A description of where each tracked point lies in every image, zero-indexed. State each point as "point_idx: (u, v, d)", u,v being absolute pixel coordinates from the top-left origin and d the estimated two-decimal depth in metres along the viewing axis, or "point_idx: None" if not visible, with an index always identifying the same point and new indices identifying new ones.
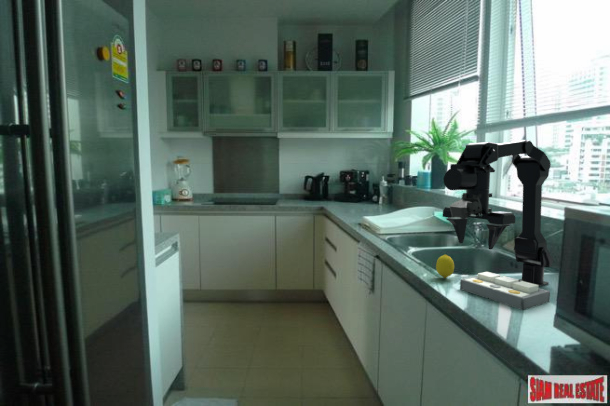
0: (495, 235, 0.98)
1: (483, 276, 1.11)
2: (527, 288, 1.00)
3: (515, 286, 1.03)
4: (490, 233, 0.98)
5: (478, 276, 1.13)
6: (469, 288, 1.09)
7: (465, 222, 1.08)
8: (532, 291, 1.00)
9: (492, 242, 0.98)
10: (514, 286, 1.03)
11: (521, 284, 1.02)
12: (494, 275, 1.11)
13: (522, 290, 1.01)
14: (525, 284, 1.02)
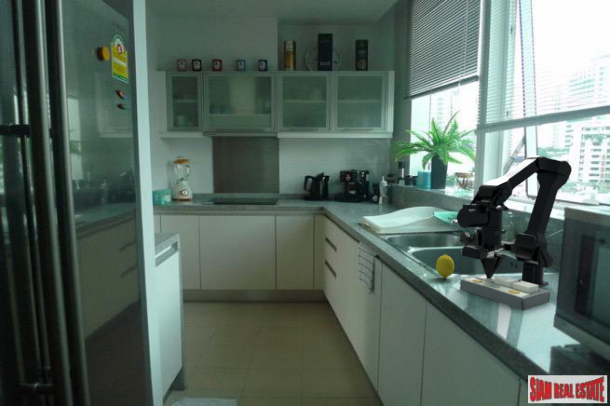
0: (486, 265, 1.11)
1: (483, 280, 1.11)
2: (527, 288, 1.00)
3: (515, 286, 1.03)
4: None
5: None
6: (469, 288, 1.09)
7: (497, 260, 1.10)
8: (532, 291, 1.00)
9: (485, 271, 1.12)
10: (514, 286, 1.03)
11: (521, 284, 1.02)
12: None
13: (522, 290, 1.01)
14: (525, 284, 1.02)
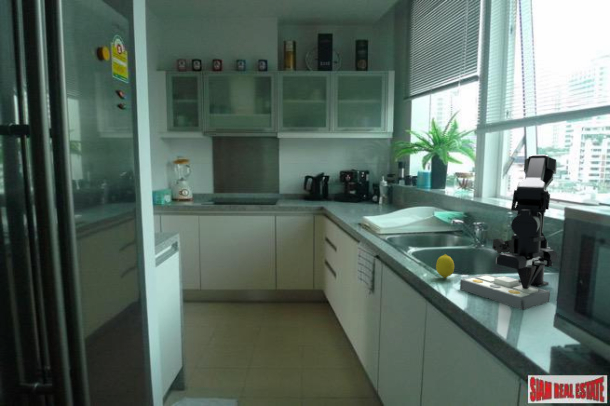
0: (523, 275, 1.01)
1: (483, 280, 1.11)
2: (527, 292, 1.00)
3: None
4: None
5: None
6: (469, 288, 1.09)
7: (535, 269, 1.01)
8: None
9: (522, 281, 1.02)
10: None
11: (521, 288, 1.02)
12: None
13: None
14: None
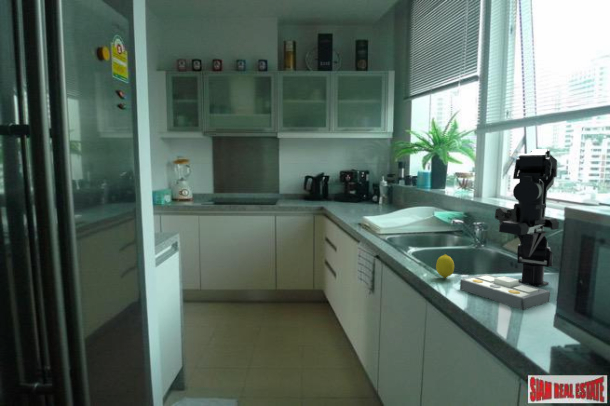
0: (525, 243, 1.03)
1: (483, 280, 1.11)
2: (527, 292, 1.00)
3: None
4: None
5: None
6: (469, 288, 1.09)
7: (537, 236, 1.02)
8: None
9: (524, 249, 1.04)
10: None
11: (521, 288, 1.02)
12: None
13: None
14: (525, 288, 1.02)
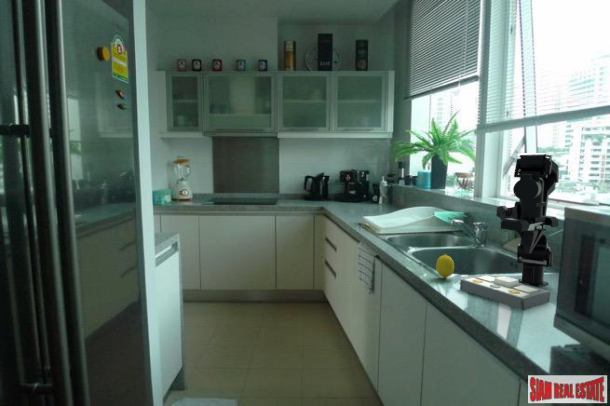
0: (526, 239, 1.06)
1: (483, 280, 1.11)
2: (527, 292, 1.00)
3: None
4: None
5: None
6: (469, 288, 1.09)
7: (537, 233, 1.05)
8: None
9: (524, 246, 1.07)
10: None
11: (521, 288, 1.02)
12: None
13: None
14: (525, 288, 1.02)
